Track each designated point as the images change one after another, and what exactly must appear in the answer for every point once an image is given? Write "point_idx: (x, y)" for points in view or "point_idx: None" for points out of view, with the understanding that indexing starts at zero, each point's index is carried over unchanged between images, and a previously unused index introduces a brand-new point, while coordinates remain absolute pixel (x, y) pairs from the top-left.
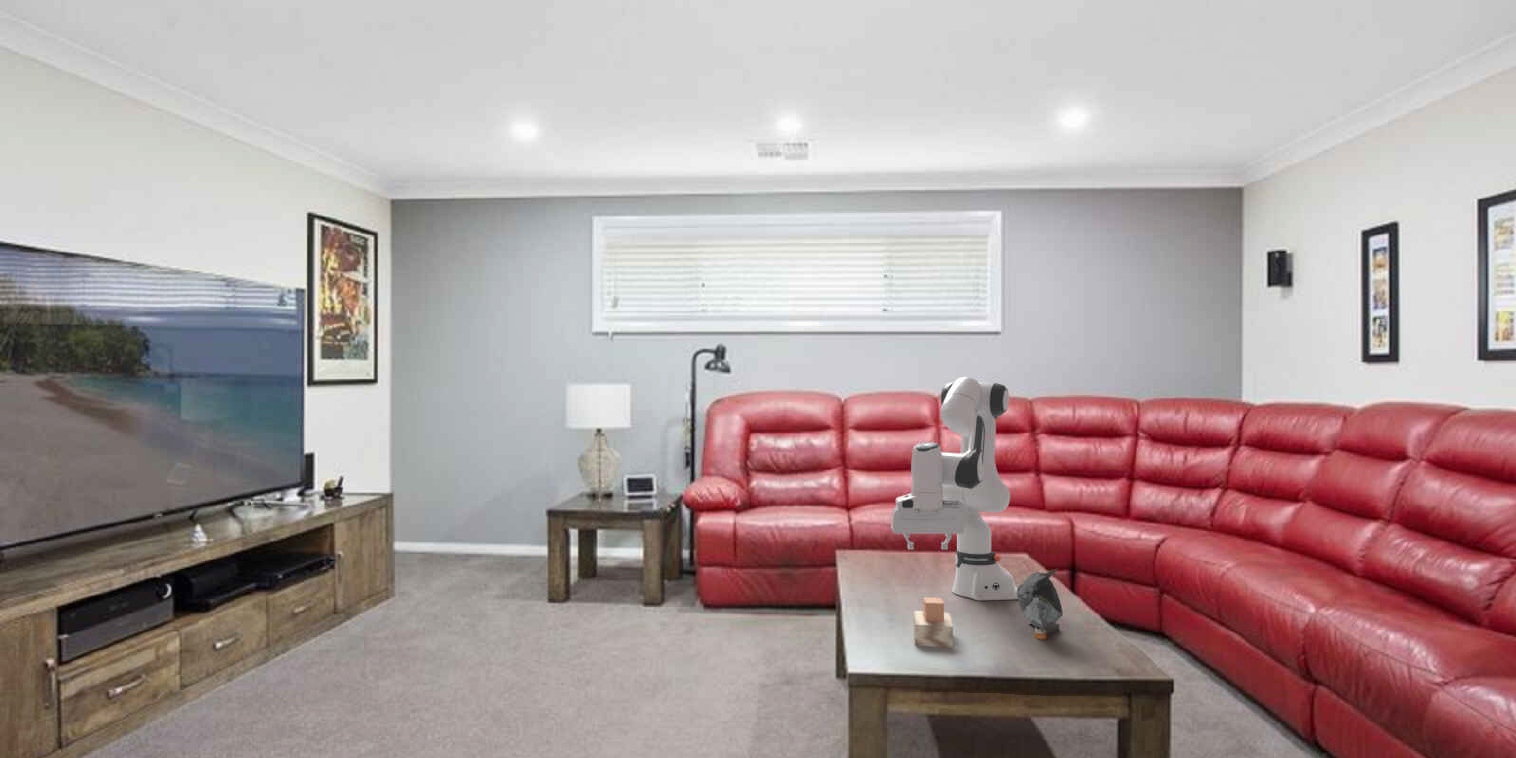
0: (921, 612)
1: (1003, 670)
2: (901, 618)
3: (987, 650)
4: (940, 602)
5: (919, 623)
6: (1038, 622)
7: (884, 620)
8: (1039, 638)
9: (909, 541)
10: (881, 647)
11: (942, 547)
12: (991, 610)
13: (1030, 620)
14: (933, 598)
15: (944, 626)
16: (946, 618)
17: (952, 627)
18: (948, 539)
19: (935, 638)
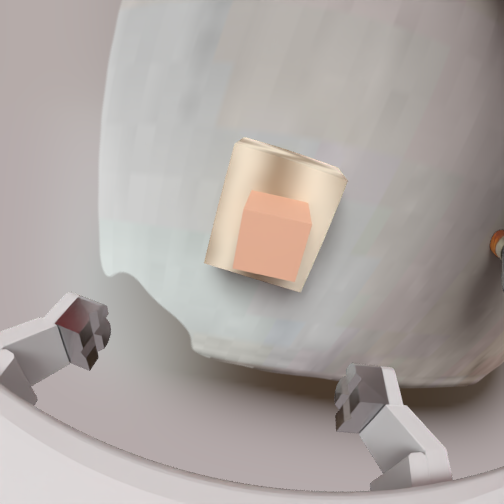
0: (255, 164)
1: (335, 362)
2: (240, 37)
3: (365, 288)
4: (286, 272)
5: (218, 257)
6: (501, 278)
7: (185, 52)
8: (491, 250)
9: (55, 370)
10: (142, 239)
11: (335, 404)
12: (499, 49)
13: (502, 257)
14: (279, 226)
15: (279, 285)
16: (313, 230)
17: (299, 291)
18: (384, 465)
19: None
